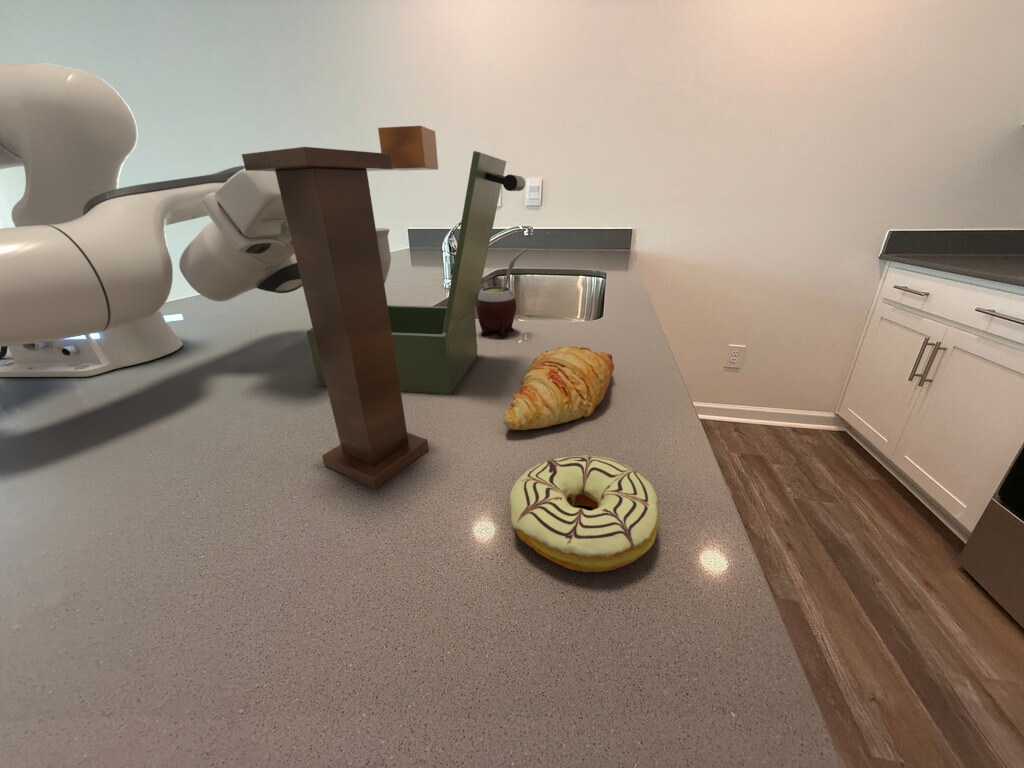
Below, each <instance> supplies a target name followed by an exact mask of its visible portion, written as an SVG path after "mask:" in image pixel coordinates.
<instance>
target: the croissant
mask: <svg viewBox="0 0 1024 768" xmlns="http://www.w3.org/2000/svg"><path fill="white" fill-rule="evenodd" d="M614 370H615V364H614V361H613V355H612V353H611V354H610V353H606V352H602V351H601V352H597V351H596V352H594V351H592V350H591V349H590V348H588V347H584V346H582V347H579V346H569V345H568V346H561V347H556V348H553V349H550V350H545V351H544V352H542V353H541V354H539V355H538V356H536V357H535V358H534V359H533V360H532V362H531V363H530V364H529V366H528V371H527V372H526V374H525V376H524V377H523V378H522V381H521V388H520V389H519V390H518V391H517V392H515V393H514V394H513V396H512V402H511V404H510V408H507V409H506V410H505V411H504V417H503V424H504V425H505V426H506V428H507V429H509V430H512V431H526V430H534V429H535V430H536V429H543V428H549V427H551V426H556V425H560V424H565V423H569V422H572V421H575V420H578V419H581V418H582V417H584V418H587V417H589V416H591V415H592V414H593V412H594V411H595V409H596V408H597V406H599V405H600V403H602V401H603V399H604V398H605V396H606V393H607V391H608V387H609V385H610V383H611V380H612V375H613V374H614Z"/></svg>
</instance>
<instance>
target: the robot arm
mask: <svg viewBox="0 0 1024 768" xmlns="http://www.w3.org/2000/svg"><path fill="white" fill-rule="evenodd" d="M138 133H139V131H138V125H137V121H136V118H135V116H134V115H133V112H132V110H131V108H130V106H129V104H127V102H126V101H125V100H124V98H123V97H122V96H121V95H120V93H119V92H118V91H117V90H116V89H115V88H114V87H113V86H111V84H110V83H108V82H107V81H106V80H104V79H103V78H102V77H100V76H98V75H96V74H95V73H92V72H90V71H87V70H82V69H77V68H73V67H69V66H64V65H59V64H52V63H47V62H20V63H19V62H18V63H17V62H15V63H0V170H5V169H10V168H17V167H18V168H19V167H23V169H24V173H25V187H24V192H23V195H22V197H21V198H20V199H19V200H18V201H17V202H16V203H15V204H14V205H13V207H12V210H11V220H12V223H13V224H14V226H13V227H3V228H0V360H1V359H3V358H4V357H6V356H7V354H8V350H9V352H10V355H11V357H12V359H11V360H8V361H7V362H5V363H3V364H1V365H0V378H86V377H92V376H96V375H100V374H104V373H106V372H110V371H113V370H116V369H121V368H125V367H129V366H134V365H138V364H142V363H146V362H150V361H153V360H156V359H159V358H161V357H162V358H163V357H164V356H168V355H169V354H172V353H174V352H176V351H178V350H179V349H181V348H182V346H184V343H183V341H182V340H181V339H180V338H179V337H178V335H177V334H176V332H175V331H174V330H173V329H172V327H171V326H170V324H169V323H168V322H172V321H182V320H183V321H184V317H183V314H182V313H178V314H171V315H170V314H169V315H164V314H163V313H162V311H161V309H162V308H163V306H164V305H165V303H166V302H167V301H168V299H169V296H170V294H171V290H172V287H173V279H174V278H173V277H174V276H173V275H174V273H173V269H174V268H173V262H172V257H171V253H170V248H169V246H168V241H167V234H166V226H169V225H173V224H178V223H183V222H187V221H191V220H192V221H193V220H195V219H200V218H205V217H209V218H210V220H211V222H209V223H207V224H206V225H205V226H203V227H202V228H201V229H200V231H198V232H197V233H196V235H195V236H193V238H192V239H191V240H190V241H189V242H188V244H187V245H186V246H185V247H184V249H183V251H182V253H181V255H180V257H179V262H178V263H179V264H178V267H179V271H180V273H181V275H182V276H183V278H184V279H185V281H186V282H187V283H188V284H189V286H190V287H191V288H192V289H193V290H194V291H195V292H197V294H199V295H201V297H204V298H206V299H208V300H210V301H213V302H226V301H230V300H232V299H235V298H237V297H238V296H240V295H242V294H245V293H247V292H249V291H252V290H255V289H258V290H261V291H265V292H270V293H276V294H287V293H291V292H295V291H297V290H299V289H300V288H303V285H302V281H301V277H300V273H299V269H298V264H297V260H296V256H295V252H294V248H293V244H292V239H291V235H290V231H289V227H288V223H287V218H286V214H285V210H284V206H283V202H282V198H281V193H280V189H279V185H278V181H277V177H276V173H275V171H247V170H246V169H245V166H244V165H237V166H233V167H229V168H226V169H223V170H219V171H216V172H213V173H209V174H202V175H195V176H189V177H183V178H182V177H181V178H175V179H168V180H161V181H154V182H147V183H141V184H134V185H129V186H124V187H119V183H120V176H121V172H122V168H123V166H124V164H125V162H126V160H127V159H128V157H129V156H130V155H131V154H132V153H133V152H134V150H135V149H136V147H137V145H138V138H139V134H138Z"/></svg>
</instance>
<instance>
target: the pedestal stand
mask: <svg viewBox="0 0 1024 768" xmlns="http://www.w3.org/2000/svg"><path fill="white" fill-rule="evenodd" d="M241 158H242V163H243V166H245V169H246V170H247V171H275V173H276V177H277V181H278V185H279V189H280V193H281V198H282V202H283V206H284V210H285V214H286V218H287V223H288V227H289V231H290V235H291V239H292V244H293V248H294V252H295V256H296V260H297V264H298V269H299V273H300V277H301V281H302V285H303V286H302V290H303V293H304V297H305V301H306V306H307V309H308V315H309V318H310V323H311V328H313V331H314V335H315V340H316V344H317V348H318V352H319V356H320V361H321V365H322V369H323V373H324V377H325V381H326V386H325V387H326V390H327V393H328V398H329V402H330V406H331V410H332V414H333V419H334V423H335V428H336V431H337V436H338V441H339V445H337V446H336V447H334V448H332V449H330V450H329V451H327V452H325V453H324V454H322V455H321V458H322V461H323V466H325V467H327V468H329V469H331V470H333V471H335V472H337V473H340V474H342V475H344V476H346V477H348V478H351V479H352V480H355V481H356V482H358V483H361V484H363V485H365V486H368V487H370V488H372V489H374V490H377V489H378V488H379V487H380V486H382V485H383V484H384V483H386V482H387V481H389V480H390V479H392V477H394V476H395V475H397V474H398V473H399V472H400V471H402V470H403V469H405V468H406V467H407V466H409V465H410V464H411V463H413V462H414V461H416V460H417V459H419V457H421V456H422V455H423V454H425V453H426V452H427V451H429V450H430V449H429V441H428V439H426V438H424V437H421V436H418V435H416V434H413V433H409V432H408V430H407V423H406V417H405V410H404V403H403V398H402V397H403V396H402V391H401V390H400V383H399V377H398V370H397V364H396V357H395V351H394V344H393V338H392V331H391V325H390V318H389V312H388V305H389V304H388V301H387V293H386V287H385V283H384V279H383V273H382V266H381V260H380V253H379V247H378V240H377V234H376V228H377V227H376V221H375V215H374V208H373V202H372V201H373V200H372V196H371V189H370V183H369V182H370V181H369V176H368V172H372V171H371V170H385V171H388V170H387V169H393V168H392V160H391V154H387V153H381V152H375V151H362V150H350V149H337V148H327V147H325V148H324V147H312V146H297V147H290V148H283V149H282V148H281V149H280V148H279V149H274V150H273V149H271V150H265V151H264V150H263V151H255V152H247V153H241Z"/></svg>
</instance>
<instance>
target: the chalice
mask: <svg viewBox="0 0 1024 768" xmlns="http://www.w3.org/2000/svg"><path fill="white" fill-rule="evenodd" d="M390 231H391V230H390V228H386V227H376V234H377V240H378V247H379V253H380V260H381V266H382V273H383V279H384V284H386V283H387V278H388V275H389V272H390V269H391V268H390V267H391V263H392V262H391V261H392V255H391V250H390V242H389V241H390V240H389V233H390Z"/></svg>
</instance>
